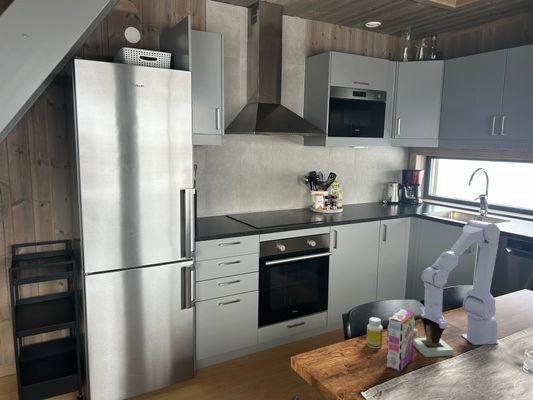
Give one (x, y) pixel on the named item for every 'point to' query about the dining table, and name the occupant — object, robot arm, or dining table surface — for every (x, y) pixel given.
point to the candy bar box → (400, 339)
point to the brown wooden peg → (430, 338)
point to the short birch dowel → (415, 333)
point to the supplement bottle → (374, 333)
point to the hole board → (429, 352)
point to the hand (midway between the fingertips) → (432, 339)
